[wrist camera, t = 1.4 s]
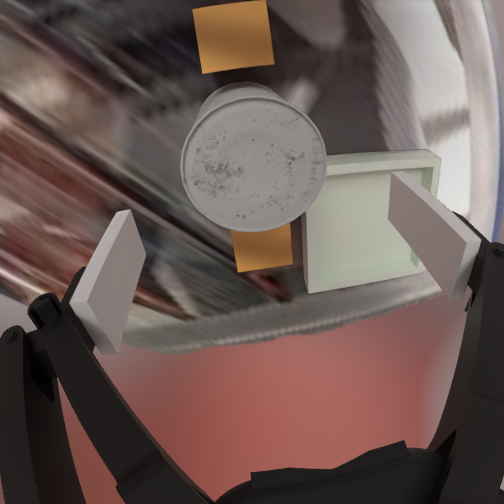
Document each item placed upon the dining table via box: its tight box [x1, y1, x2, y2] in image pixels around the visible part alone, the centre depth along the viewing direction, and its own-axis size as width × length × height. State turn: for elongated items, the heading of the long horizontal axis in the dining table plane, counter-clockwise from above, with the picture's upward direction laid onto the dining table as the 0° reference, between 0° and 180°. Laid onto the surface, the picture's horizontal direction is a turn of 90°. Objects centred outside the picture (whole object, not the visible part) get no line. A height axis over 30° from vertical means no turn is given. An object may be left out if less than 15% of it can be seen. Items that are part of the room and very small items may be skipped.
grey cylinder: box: [180, 81, 327, 232], centre depth 25 cm, size 10×10×12 cm
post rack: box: [192, 0, 293, 272], centre depth 27 cm, size 23×5×8 cm, turn 7°
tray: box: [301, 150, 441, 293], centre depth 36 cm, size 16×16×3 cm
